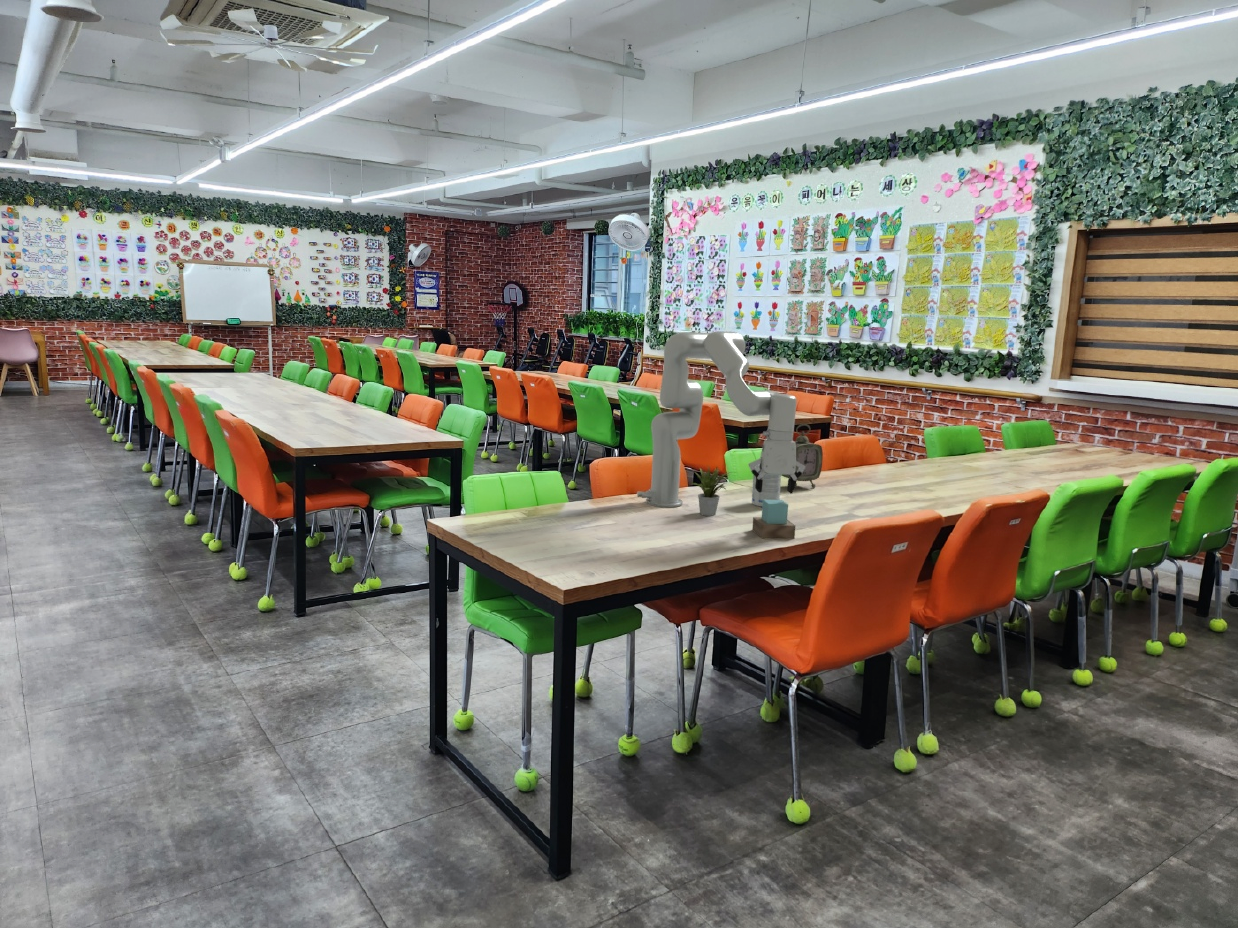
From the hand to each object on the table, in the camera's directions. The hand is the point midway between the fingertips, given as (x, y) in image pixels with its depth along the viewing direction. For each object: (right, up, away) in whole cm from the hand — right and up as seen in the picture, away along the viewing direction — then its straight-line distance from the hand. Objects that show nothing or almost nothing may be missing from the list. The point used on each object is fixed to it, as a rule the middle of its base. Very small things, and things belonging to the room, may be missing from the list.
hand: (774, 491), depth 255 cm
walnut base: (0, -13, +2) cm, 13 cm away
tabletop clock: (+23, -1, +76) cm, 79 cm away
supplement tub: (+4, -6, +42) cm, 43 cm away
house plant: (-17, -9, +23) cm, 30 cm away
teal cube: (0, -9, +1) cm, 9 cm away
